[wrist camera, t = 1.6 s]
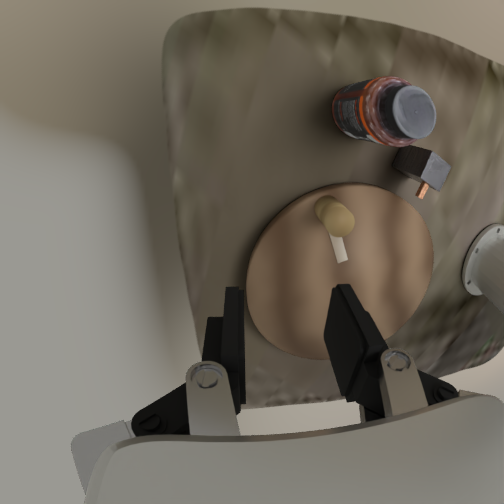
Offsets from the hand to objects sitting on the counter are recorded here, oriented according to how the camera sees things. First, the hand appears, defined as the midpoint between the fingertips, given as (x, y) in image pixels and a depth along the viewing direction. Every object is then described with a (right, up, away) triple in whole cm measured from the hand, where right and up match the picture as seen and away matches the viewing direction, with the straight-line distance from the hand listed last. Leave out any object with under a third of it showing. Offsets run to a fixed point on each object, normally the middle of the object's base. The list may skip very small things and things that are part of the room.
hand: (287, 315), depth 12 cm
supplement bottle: (+9, +17, +14) cm, 24 cm away
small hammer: (+16, +13, +16) cm, 26 cm away
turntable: (+10, 0, +22) cm, 24 cm away
